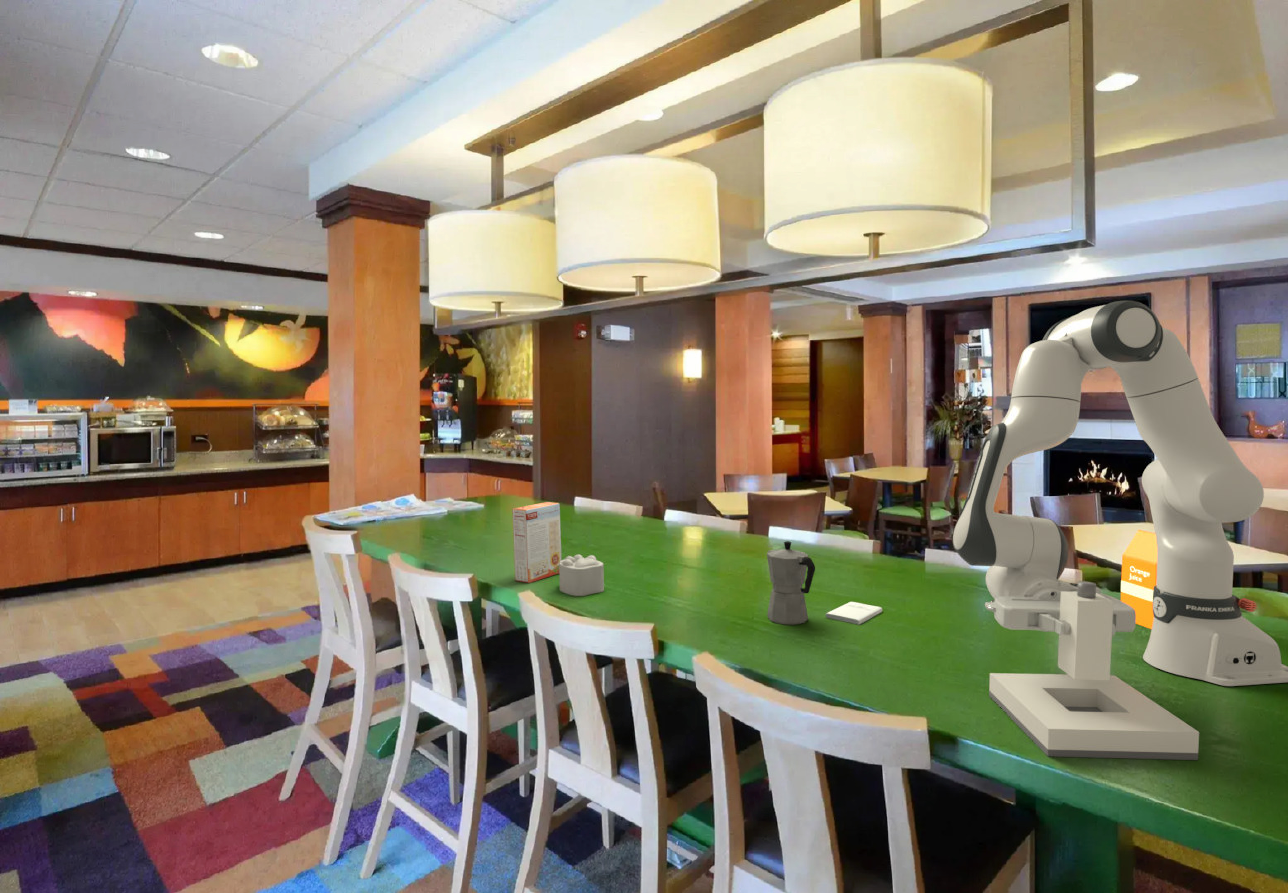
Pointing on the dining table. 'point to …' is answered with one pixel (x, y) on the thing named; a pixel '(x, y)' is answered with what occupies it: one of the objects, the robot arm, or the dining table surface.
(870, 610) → the external hard drive
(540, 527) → the cracker box
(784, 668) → the dining table surface
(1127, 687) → the socket block
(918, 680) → the dining table surface
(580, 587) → the lumpy-topped squat cylinder
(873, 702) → the dining table surface
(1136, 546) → the orange juice
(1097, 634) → the plug
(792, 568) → the coffeepot
